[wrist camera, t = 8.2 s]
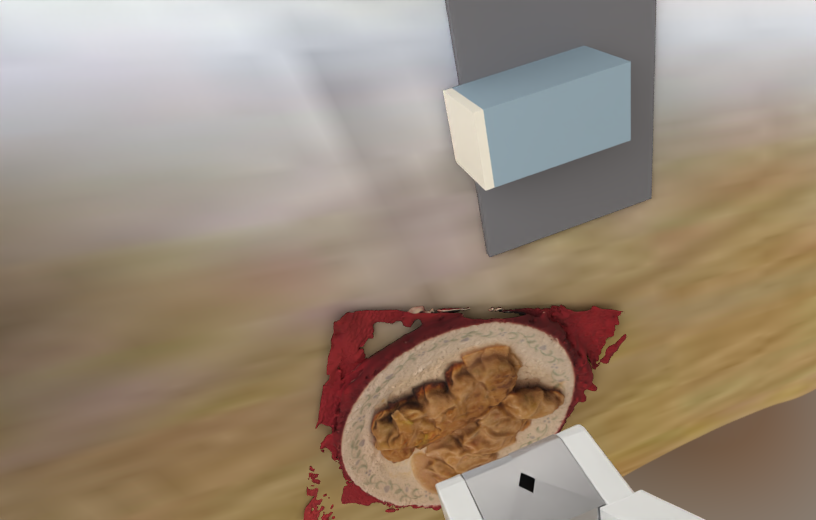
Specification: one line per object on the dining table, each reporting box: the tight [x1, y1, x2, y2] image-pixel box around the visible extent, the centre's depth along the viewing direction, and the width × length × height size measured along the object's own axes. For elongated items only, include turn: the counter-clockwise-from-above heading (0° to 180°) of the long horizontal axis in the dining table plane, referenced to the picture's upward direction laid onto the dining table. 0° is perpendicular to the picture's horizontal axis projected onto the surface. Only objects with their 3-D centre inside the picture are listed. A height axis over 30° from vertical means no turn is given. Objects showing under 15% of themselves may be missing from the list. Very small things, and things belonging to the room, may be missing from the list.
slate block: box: [443, 46, 631, 191], centre depth 37 cm, size 5×5×10 cm
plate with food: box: [304, 305, 626, 520], centre depth 52 cm, size 24×26×4 cm
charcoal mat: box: [445, 0, 656, 257], centre depth 40 cm, size 14×22×1 cm, turn 13°
